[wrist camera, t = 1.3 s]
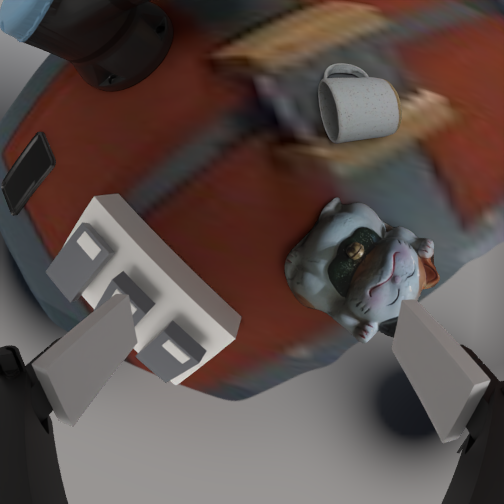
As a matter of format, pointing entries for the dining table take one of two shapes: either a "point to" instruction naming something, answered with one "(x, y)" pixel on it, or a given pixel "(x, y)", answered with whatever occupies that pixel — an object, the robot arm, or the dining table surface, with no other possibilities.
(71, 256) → the block
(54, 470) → the robot arm
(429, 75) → the dining table surface
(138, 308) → the rocker
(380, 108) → the ceramic mug
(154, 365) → the rocker
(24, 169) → the phone
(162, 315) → the switch unit
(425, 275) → the lucky cat figurine
